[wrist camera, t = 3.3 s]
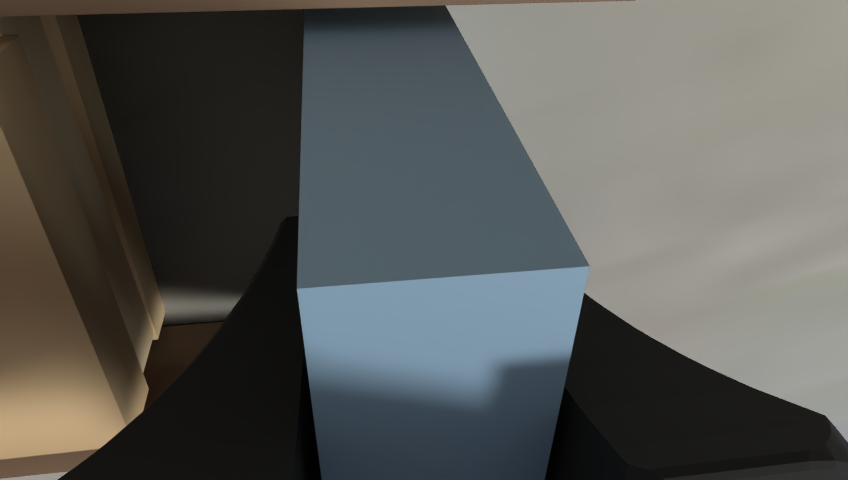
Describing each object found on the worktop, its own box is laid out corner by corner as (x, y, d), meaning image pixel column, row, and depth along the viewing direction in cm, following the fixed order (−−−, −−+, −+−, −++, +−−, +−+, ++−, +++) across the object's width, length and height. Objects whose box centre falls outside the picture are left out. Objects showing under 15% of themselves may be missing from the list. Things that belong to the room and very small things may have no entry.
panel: (424, 293, 17) (504, 669, 10) (333, 300, 17) (349, 693, 10) (430, -21, 13) (589, 266, 5) (305, -19, 12) (296, 288, 5)
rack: (519, 336, 19) (550, 420, 16) (-168, 397, 17) (-249, 504, 14) (585, -133, 12) (656, -106, 9) (-582, -133, 10) (-877, -98, 7)
